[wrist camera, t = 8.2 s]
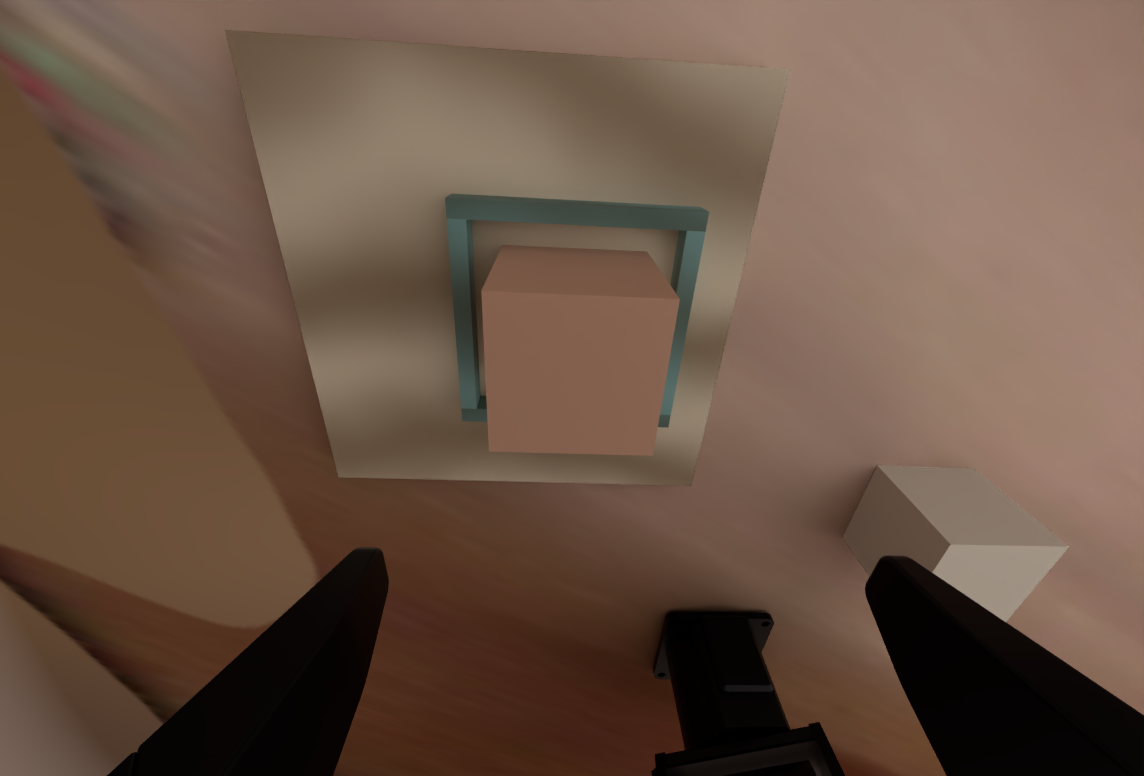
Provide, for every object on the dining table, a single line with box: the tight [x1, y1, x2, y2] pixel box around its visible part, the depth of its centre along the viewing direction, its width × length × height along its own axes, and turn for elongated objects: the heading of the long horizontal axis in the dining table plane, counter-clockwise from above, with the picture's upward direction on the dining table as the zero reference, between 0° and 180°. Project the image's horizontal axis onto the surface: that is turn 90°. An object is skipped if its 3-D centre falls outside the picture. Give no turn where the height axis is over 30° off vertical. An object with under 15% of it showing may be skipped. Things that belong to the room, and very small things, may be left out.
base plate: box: [225, 30, 790, 486], centre depth 17 cm, size 16×16×2 cm
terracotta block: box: [481, 245, 680, 456], centre depth 15 cm, size 5×5×5 cm
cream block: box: [843, 465, 1069, 622], centre depth 22 cm, size 5×5×5 cm
